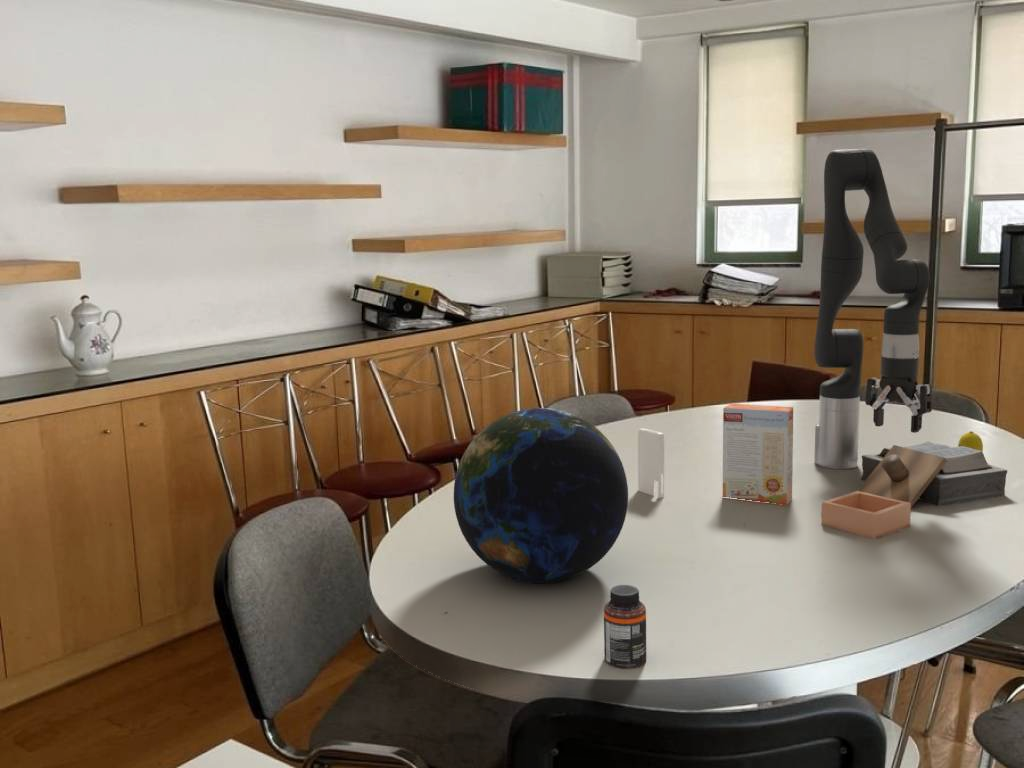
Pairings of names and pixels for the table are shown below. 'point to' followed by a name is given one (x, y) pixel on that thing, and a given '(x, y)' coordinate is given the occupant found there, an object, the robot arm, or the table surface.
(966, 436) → the lemon
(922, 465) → the lid
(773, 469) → the cracker box
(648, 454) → the phone case
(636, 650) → the supplement bottle
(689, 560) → the table surface
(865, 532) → the dish
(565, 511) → the globe
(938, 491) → the bible
